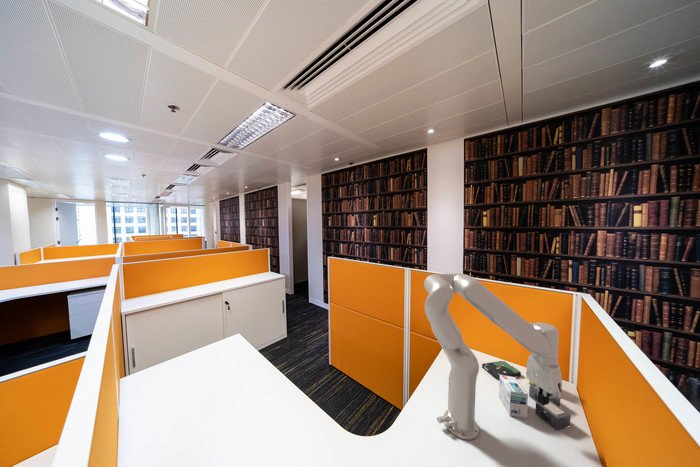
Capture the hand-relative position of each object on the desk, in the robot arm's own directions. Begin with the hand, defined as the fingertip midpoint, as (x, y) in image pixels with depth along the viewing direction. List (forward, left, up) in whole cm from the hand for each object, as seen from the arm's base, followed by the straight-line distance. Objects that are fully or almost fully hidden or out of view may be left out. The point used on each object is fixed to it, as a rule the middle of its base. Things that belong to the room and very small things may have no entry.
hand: (543, 403), depth 87 cm
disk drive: (+15, +32, -12) cm, 37 cm away
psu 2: (+9, +3, -11) cm, 15 cm away
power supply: (+16, +11, -11) cm, 23 cm away
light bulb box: (-1, +12, -12) cm, 17 cm away
